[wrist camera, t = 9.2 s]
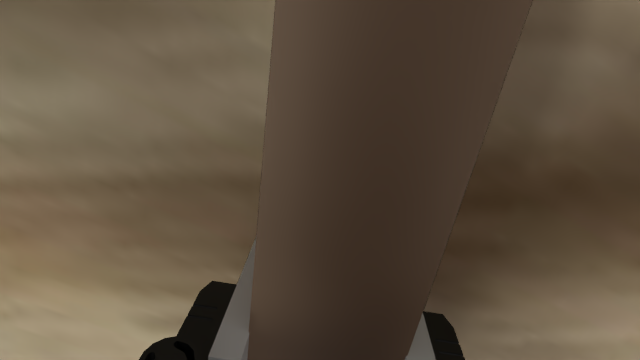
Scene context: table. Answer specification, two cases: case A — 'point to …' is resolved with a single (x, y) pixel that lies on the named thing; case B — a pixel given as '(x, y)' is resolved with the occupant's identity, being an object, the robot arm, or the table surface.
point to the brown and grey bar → (368, 165)
